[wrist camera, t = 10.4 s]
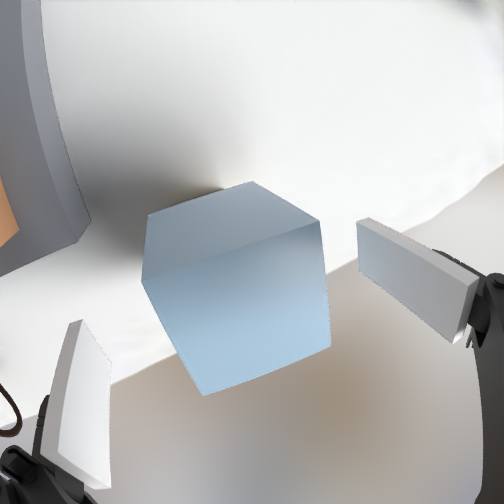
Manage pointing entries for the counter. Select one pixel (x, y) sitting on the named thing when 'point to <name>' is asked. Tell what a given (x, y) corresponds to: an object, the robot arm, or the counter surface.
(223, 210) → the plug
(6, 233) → the orange ridged block
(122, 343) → the counter surface
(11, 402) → the coffee mug
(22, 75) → the socket plate
